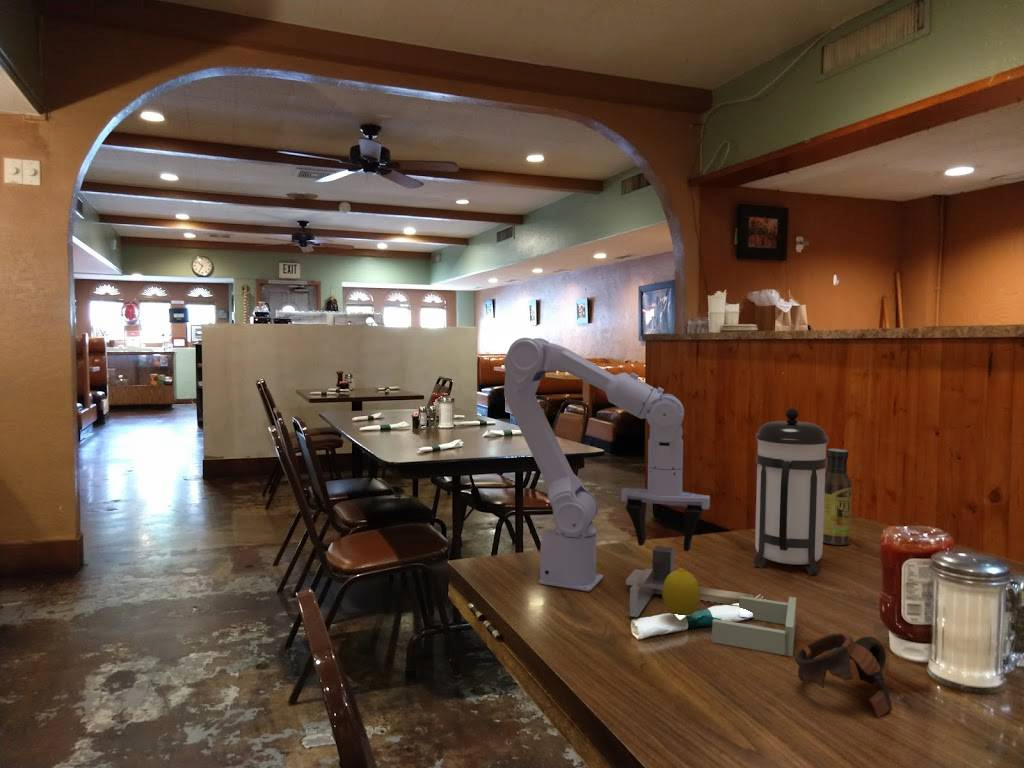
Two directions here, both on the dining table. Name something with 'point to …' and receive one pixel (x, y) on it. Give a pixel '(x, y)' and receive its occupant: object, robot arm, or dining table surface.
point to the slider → (650, 579)
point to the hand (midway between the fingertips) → (664, 546)
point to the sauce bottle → (837, 499)
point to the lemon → (681, 593)
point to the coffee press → (790, 492)
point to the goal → (758, 635)
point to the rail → (716, 595)
